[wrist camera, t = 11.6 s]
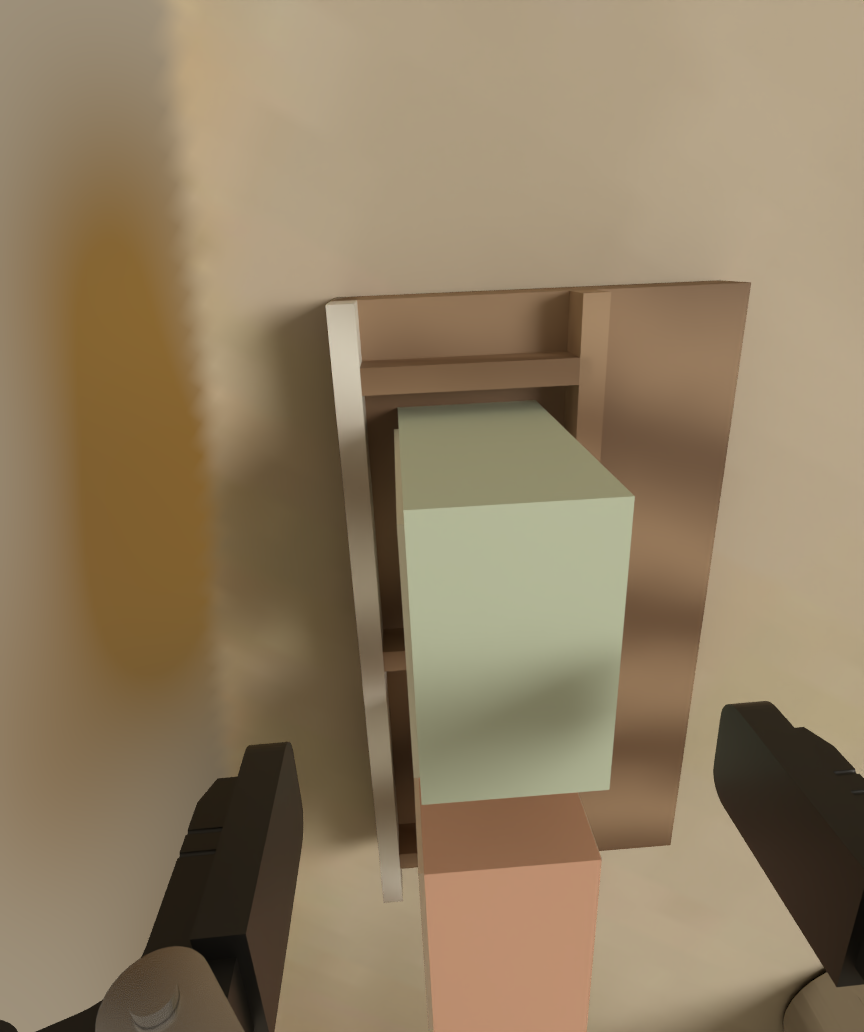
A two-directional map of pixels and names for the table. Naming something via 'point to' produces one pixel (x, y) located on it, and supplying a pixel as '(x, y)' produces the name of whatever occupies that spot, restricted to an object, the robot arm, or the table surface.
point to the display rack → (608, 437)
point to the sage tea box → (508, 601)
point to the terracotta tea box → (507, 912)
